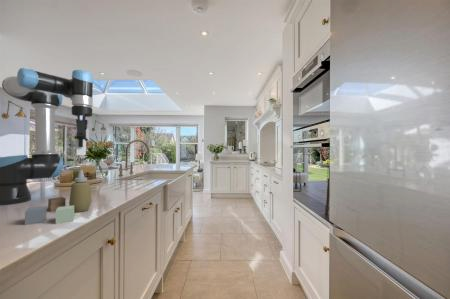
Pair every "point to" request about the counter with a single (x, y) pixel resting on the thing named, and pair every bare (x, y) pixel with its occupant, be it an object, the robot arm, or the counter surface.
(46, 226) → the counter surface
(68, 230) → the counter surface
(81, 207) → the squeeze bottle
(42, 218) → the blue-grey cube
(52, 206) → the walnut cube
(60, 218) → the sage cube
